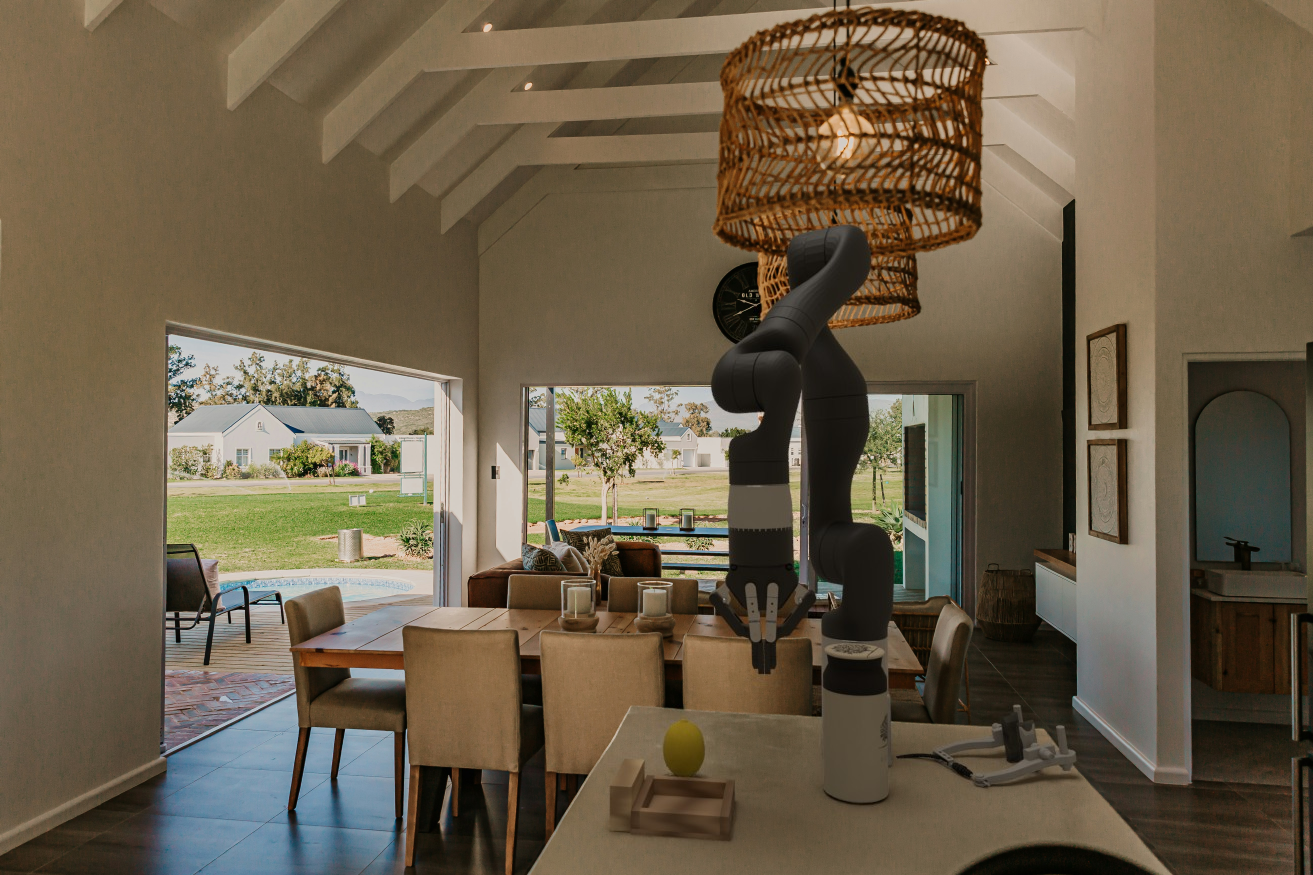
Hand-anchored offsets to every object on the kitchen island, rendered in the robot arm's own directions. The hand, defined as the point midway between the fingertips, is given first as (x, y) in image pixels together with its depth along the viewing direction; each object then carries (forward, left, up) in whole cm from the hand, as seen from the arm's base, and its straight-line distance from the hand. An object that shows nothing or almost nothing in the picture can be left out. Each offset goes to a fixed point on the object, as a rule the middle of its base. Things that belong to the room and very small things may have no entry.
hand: (764, 672), depth 97 cm
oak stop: (+16, 0, -17) cm, 24 cm away
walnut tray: (+9, -1, -18) cm, 20 cm away
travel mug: (-11, -11, -18) cm, 24 cm away
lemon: (+11, -12, -18) cm, 24 cm away
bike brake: (-29, -22, -18) cm, 41 cm away
